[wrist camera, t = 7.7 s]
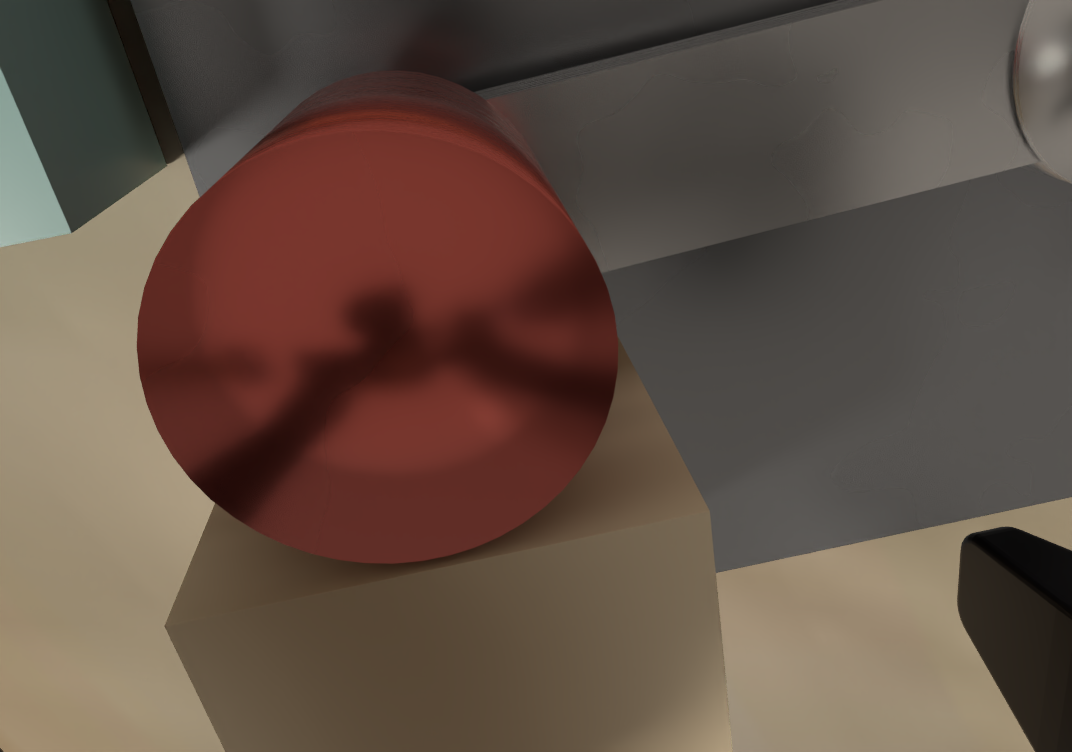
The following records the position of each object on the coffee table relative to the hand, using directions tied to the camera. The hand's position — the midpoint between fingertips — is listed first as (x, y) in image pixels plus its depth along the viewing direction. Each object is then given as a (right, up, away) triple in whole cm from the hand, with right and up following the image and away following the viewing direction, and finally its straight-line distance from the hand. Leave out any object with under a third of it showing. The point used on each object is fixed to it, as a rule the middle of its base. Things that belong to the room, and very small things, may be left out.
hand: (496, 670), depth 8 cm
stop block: (-1, +2, +4) cm, 4 cm away
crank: (+3, +6, +2) cm, 7 cm away
